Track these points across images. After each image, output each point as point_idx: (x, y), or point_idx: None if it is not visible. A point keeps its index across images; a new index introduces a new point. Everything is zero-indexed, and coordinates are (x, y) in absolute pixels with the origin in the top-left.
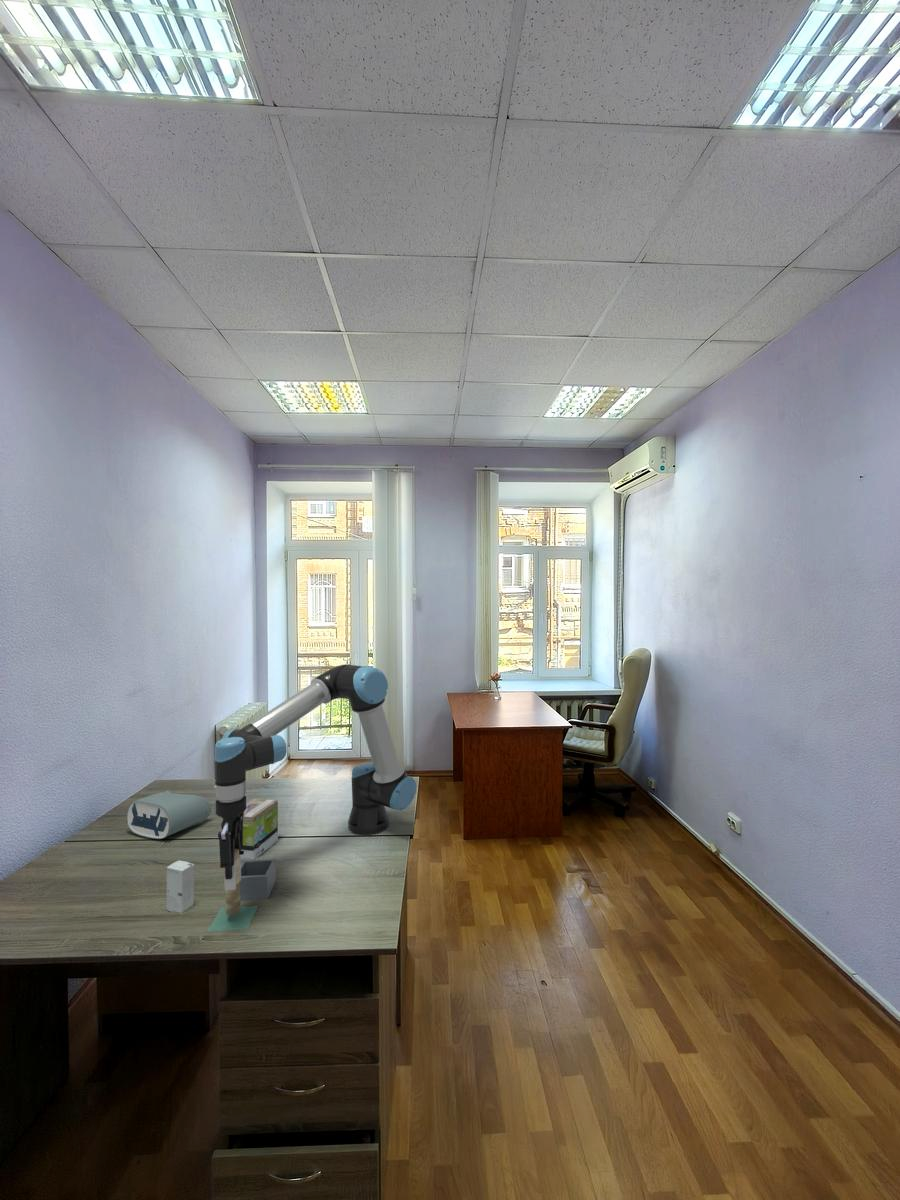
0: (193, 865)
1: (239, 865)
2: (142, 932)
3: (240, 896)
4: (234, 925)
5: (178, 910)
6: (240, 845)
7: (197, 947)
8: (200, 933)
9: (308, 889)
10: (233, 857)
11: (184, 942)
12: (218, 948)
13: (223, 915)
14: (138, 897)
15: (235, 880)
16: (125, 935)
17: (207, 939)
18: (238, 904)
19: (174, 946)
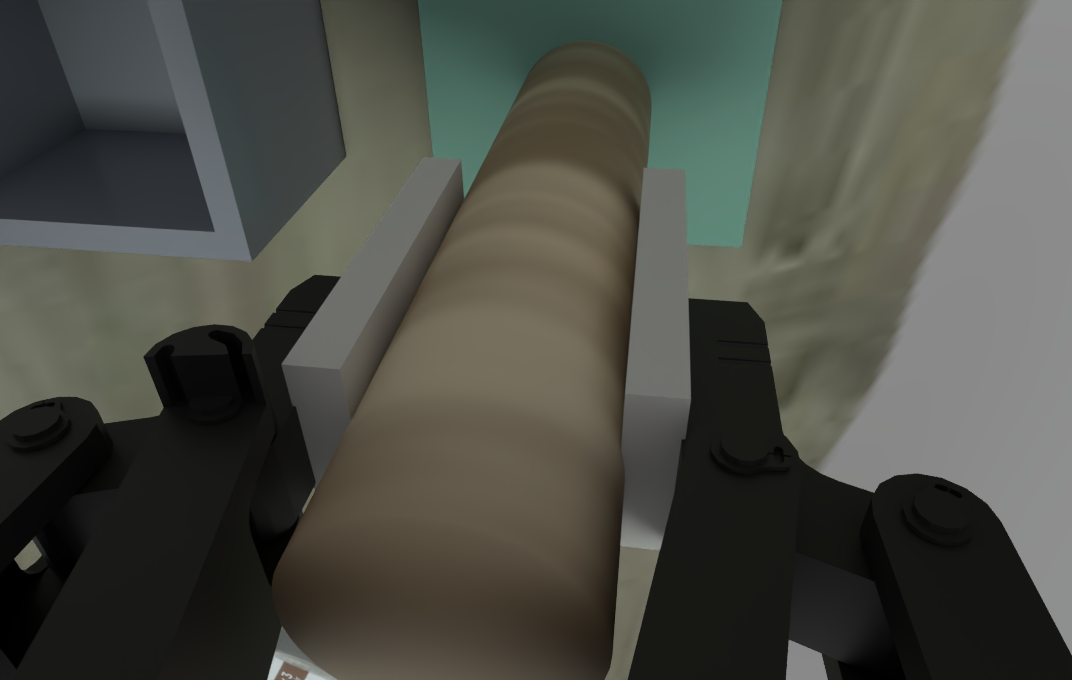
0: (285, 650)
1: (398, 278)
2: (629, 559)
3: (315, 112)
4: (710, 45)
5: None
6: (114, 525)
7: (895, 259)
8: (718, 284)
9: None
10: (715, 563)
11: (798, 353)
12: (983, 96)
13: None
14: None
15: (660, 223)
16: (640, 610)
17: (814, 217)
18: (609, 73)
19: (824, 395)
